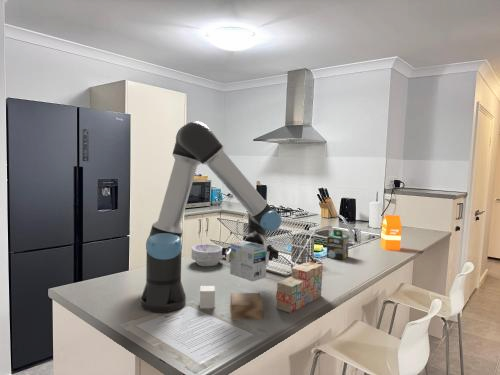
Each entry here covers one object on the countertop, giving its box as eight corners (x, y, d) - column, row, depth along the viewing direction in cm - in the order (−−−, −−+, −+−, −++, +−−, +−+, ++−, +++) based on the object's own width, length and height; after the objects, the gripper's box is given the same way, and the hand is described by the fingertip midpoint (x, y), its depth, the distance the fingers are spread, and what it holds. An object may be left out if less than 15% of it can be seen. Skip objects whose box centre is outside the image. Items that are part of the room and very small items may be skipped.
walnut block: (231, 320, 114) (232, 304, 113) (230, 307, 124) (230, 292, 123) (262, 319, 115) (263, 304, 114) (259, 306, 125) (259, 292, 124)
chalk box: (348, 256, 193) (349, 229, 192) (342, 260, 185) (344, 232, 184) (331, 253, 198) (333, 227, 196) (325, 257, 190) (327, 229, 189)
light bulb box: (266, 277, 118) (267, 245, 117) (252, 282, 113) (254, 248, 112) (242, 270, 125) (244, 239, 124) (229, 274, 120) (230, 242, 119)
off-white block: (199, 308, 121) (200, 291, 121) (200, 302, 126) (200, 285, 126) (214, 308, 122) (215, 291, 121) (214, 302, 127) (214, 285, 126)
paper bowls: (215, 270, 162) (215, 253, 162) (185, 265, 167) (185, 249, 166) (227, 261, 177) (228, 245, 176) (200, 257, 182) (200, 242, 181)
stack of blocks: (290, 313, 120) (292, 277, 119) (275, 308, 124) (276, 273, 122) (321, 296, 136) (323, 264, 135) (306, 291, 140) (308, 260, 139)
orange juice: (400, 250, 211) (402, 216, 209) (385, 249, 211) (387, 216, 209) (394, 246, 218) (397, 214, 217) (380, 246, 219) (382, 214, 217)
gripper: (223, 232, 137) (210, 245, 116) (286, 236, 134) (285, 250, 113) (222, 251, 138) (209, 268, 116) (285, 255, 135) (284, 273, 113)
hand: (246, 259), depth 115 cm, fingers closed on light bulb box, 12 cm apart
